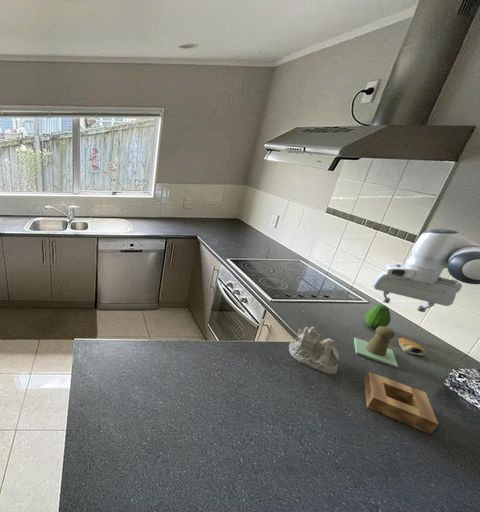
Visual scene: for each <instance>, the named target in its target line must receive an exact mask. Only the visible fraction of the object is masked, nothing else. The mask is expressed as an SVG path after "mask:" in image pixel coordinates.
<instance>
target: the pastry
mask: <svg viewBox="0 0 480 512" xmlns="http://www.w3.org/2000/svg"><path fill="white" fill-rule="evenodd" d="M398 346H399V347H400V349H401V350H402V351H403V352H404V353H406V354H409V355H415V356H424V355H426V350H424V349H425V348H423V347H422V346H421V344H419V343H418V342H415V341H414V340H411V339H408V338H405V337H400V338H398Z"/></svg>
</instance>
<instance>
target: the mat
mask: <svg viewBox="0 0 480 512" xmlns="http://www.w3.org/2000/svg"><path fill="white" fill-rule="evenodd" d="M369 342H370V341H367V340H364V339H361V338H358V337H353V343H354V350H355V354H356V355H357V356H361V357H364V358H366V359H369V360H372V361H374V362H378V363H381V364H384V365H387V366H390V367H392V368H395V369H398V367H399V365H398V361H397V359H396V356H395V353H394V350H393V349H392V348H389V347H388V348H387V352H386V355H385V356H378V355H375V354H373V353H371V352H369V351H368V350H367V349H366V346H367V344H368V343H369Z"/></svg>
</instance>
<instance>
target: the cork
mask: <svg viewBox="0 0 480 512" xmlns="http://www.w3.org/2000/svg"><path fill="white" fill-rule="evenodd" d="M395 336H396V333H395V331H394V330H393V329H392V328H390V327H388V326H386V327H383V326H380V327H378V328H375V334H374V335H373V337H372V338H371V339H370V341H368V342H369V343H368V344H367V346H366V349H367V350H368V351H369V352H371V353H373V354H375V355H378V356H385V355H386V352H387V348H389V345H390V341H391V339H393V338H394V337H395Z"/></svg>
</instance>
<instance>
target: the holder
mask: <svg viewBox="0 0 480 512" xmlns="http://www.w3.org/2000/svg"><path fill="white" fill-rule="evenodd" d="M362 382H363V389H364V396H365V400H366V407H367V408H368V409H370V410H373V411H375V412H377V413H380V414H382V415H384V416H387V417H389V418H391V419H394V420H396V421H398V422H401V423H403V424H405V425H408V426H409V427H412V428H414V429H417V430H419V431H422V432H424V433H426V434H429V435H432V433H433V432H434V431H435V429H436V428H437V427H438V425H439V421H438V420H437V417H436V415H435V412H434V410H433V407H432V405H431V402H430V400H429V397H428V395H427V392H425V391H422V390H421V389H417V388H414V387H413V386H409V385H406V384H404V383H402V382H398V381H395V380H393V379H391V378H387V377H385V376H382V375H379V374H376V373H374V372H371V371H369V370H368V371H367V373H366V374H365V376H364V378H363V381H362Z"/></svg>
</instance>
